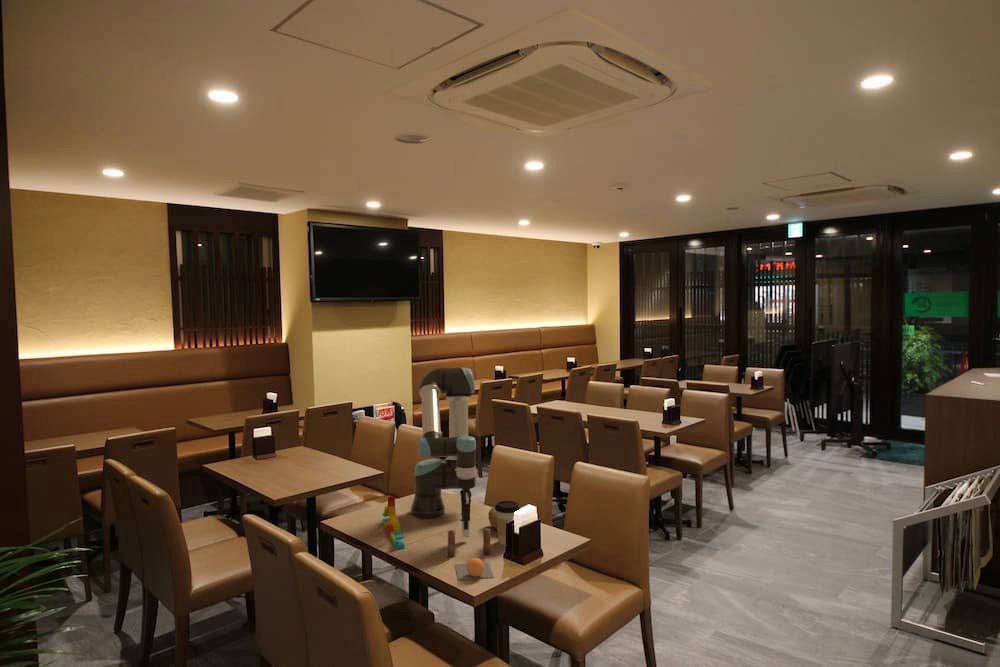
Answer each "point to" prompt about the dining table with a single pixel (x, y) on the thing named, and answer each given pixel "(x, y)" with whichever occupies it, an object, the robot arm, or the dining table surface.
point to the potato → (492, 517)
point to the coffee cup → (504, 517)
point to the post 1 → (451, 543)
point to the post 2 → (486, 541)
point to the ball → (475, 567)
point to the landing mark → (464, 575)
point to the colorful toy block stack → (393, 524)
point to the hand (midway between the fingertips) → (465, 536)
